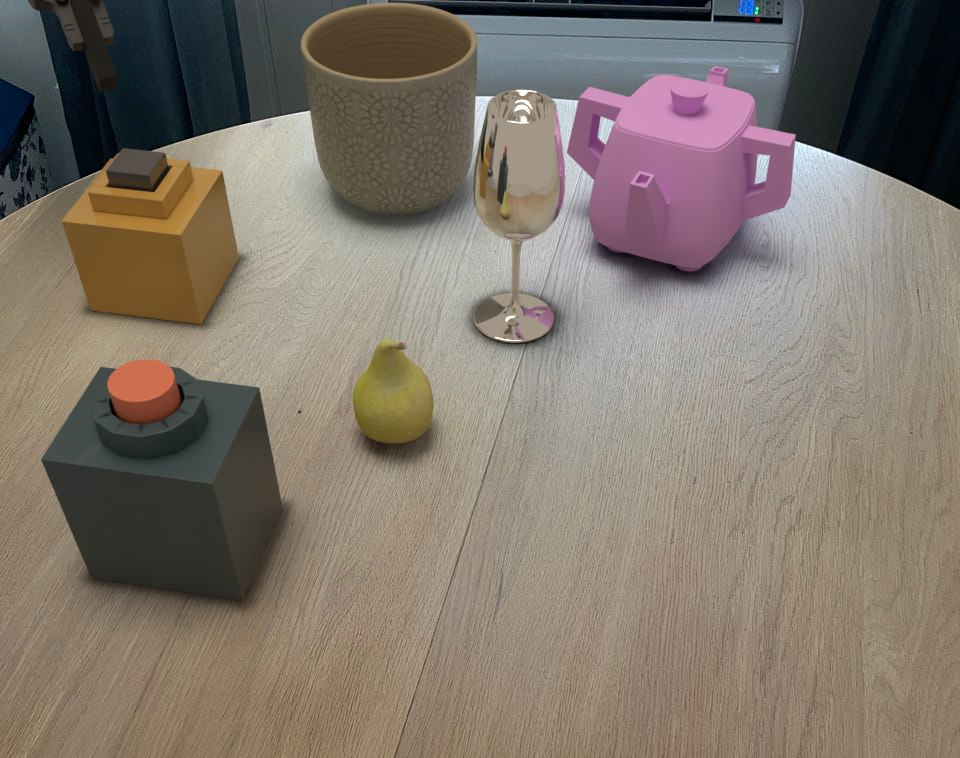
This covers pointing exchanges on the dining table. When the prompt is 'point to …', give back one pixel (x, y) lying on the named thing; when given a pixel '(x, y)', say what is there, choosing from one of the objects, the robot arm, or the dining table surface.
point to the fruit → (393, 396)
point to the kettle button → (137, 170)
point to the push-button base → (154, 244)
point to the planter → (392, 103)
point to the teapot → (678, 167)
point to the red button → (144, 391)
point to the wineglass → (518, 200)
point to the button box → (169, 488)
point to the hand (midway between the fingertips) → (108, 84)
